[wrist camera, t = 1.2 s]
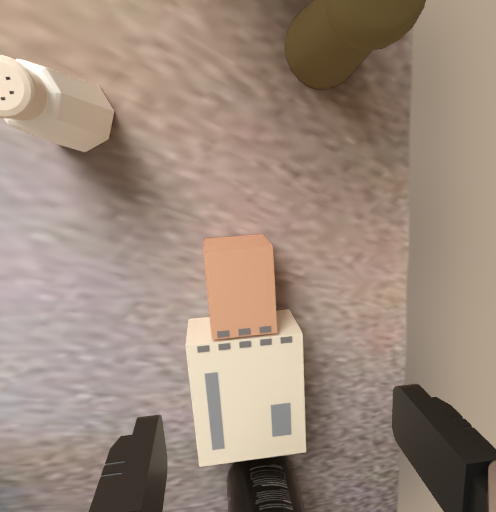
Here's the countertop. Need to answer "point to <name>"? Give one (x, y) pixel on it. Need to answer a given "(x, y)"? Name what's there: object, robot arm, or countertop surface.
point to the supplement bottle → (263, 486)
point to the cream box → (247, 392)
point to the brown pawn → (344, 36)
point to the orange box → (240, 286)
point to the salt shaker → (53, 105)
